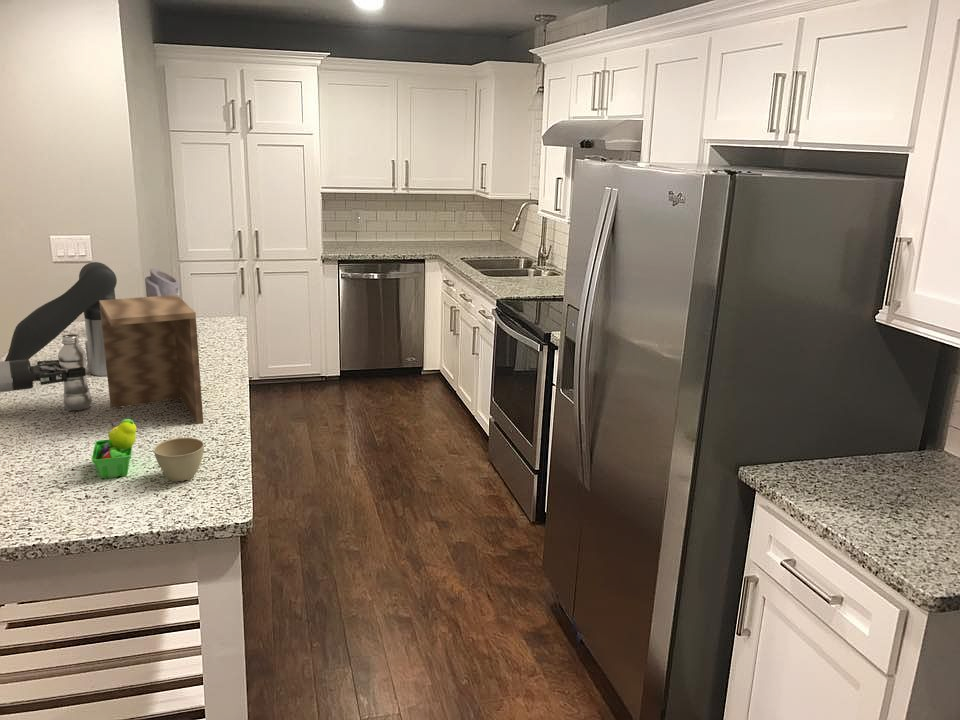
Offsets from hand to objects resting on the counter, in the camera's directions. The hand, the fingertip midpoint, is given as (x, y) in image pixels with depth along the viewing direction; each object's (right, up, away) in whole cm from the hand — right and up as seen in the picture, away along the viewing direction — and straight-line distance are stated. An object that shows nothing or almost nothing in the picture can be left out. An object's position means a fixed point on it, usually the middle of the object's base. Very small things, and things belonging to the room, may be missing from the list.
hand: (84, 367), depth 199 cm
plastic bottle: (-2, -11, +2) cm, 11 cm away
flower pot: (+39, -23, -35) cm, 58 cm away
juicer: (-14, +11, +75) cm, 77 cm away
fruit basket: (+24, -22, -32) cm, 46 cm away
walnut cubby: (+19, -12, 0) cm, 22 cm away
